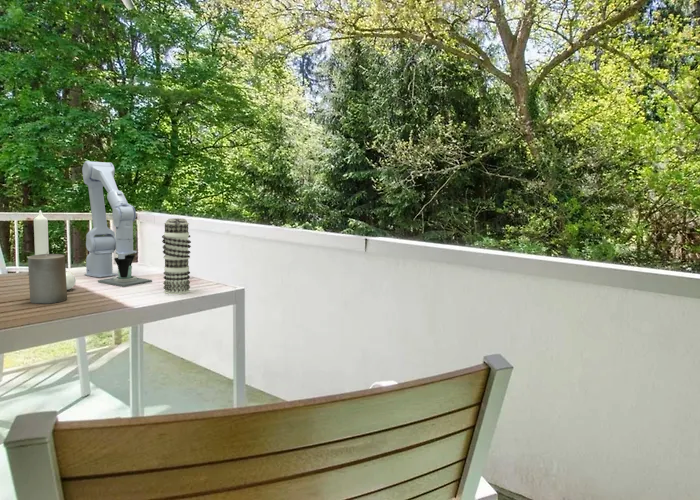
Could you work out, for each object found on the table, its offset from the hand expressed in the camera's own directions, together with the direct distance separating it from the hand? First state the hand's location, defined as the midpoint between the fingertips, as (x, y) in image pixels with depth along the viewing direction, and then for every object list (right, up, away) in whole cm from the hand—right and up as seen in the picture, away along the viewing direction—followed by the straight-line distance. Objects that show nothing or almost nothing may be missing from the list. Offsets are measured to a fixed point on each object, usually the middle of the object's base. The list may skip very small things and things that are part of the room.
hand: (125, 275), depth 182 cm
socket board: (0, -2, 0) cm, 2 cm away
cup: (0, -1, 0) cm, 1 cm away
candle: (-35, 0, +8) cm, 36 cm away
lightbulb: (-11, -4, -24) cm, 27 cm away
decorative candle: (+23, -5, -13) cm, 27 cm away
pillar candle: (-9, -6, -31) cm, 33 cm away
